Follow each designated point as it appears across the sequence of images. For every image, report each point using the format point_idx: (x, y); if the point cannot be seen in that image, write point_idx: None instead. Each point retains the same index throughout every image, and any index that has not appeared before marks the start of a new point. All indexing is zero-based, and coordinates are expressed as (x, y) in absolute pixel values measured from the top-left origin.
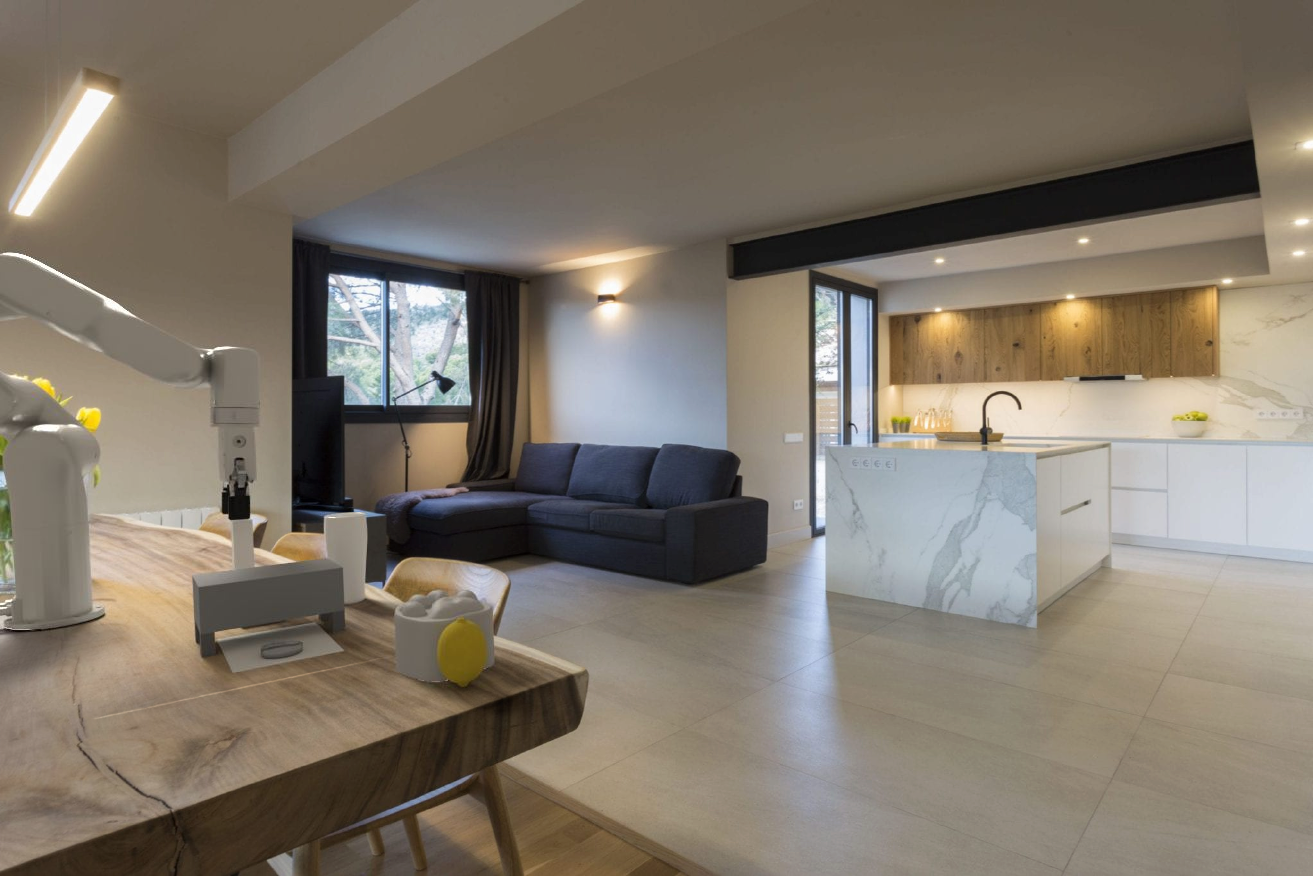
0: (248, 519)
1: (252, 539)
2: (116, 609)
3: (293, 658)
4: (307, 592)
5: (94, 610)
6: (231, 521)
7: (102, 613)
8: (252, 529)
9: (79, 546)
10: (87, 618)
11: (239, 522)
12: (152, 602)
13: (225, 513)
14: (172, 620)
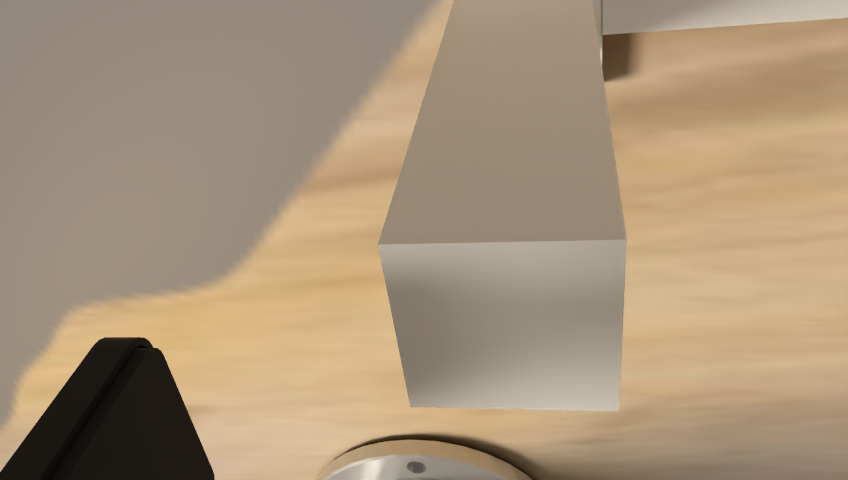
0: (532, 271)
1: (608, 115)
2: (358, 409)
3: None
4: None
5: (462, 475)
6: (497, 401)
7: (456, 448)
8: (616, 169)
9: None
10: (522, 478)
11: (621, 347)
12: (298, 326)
13: (212, 470)
14: (741, 283)
